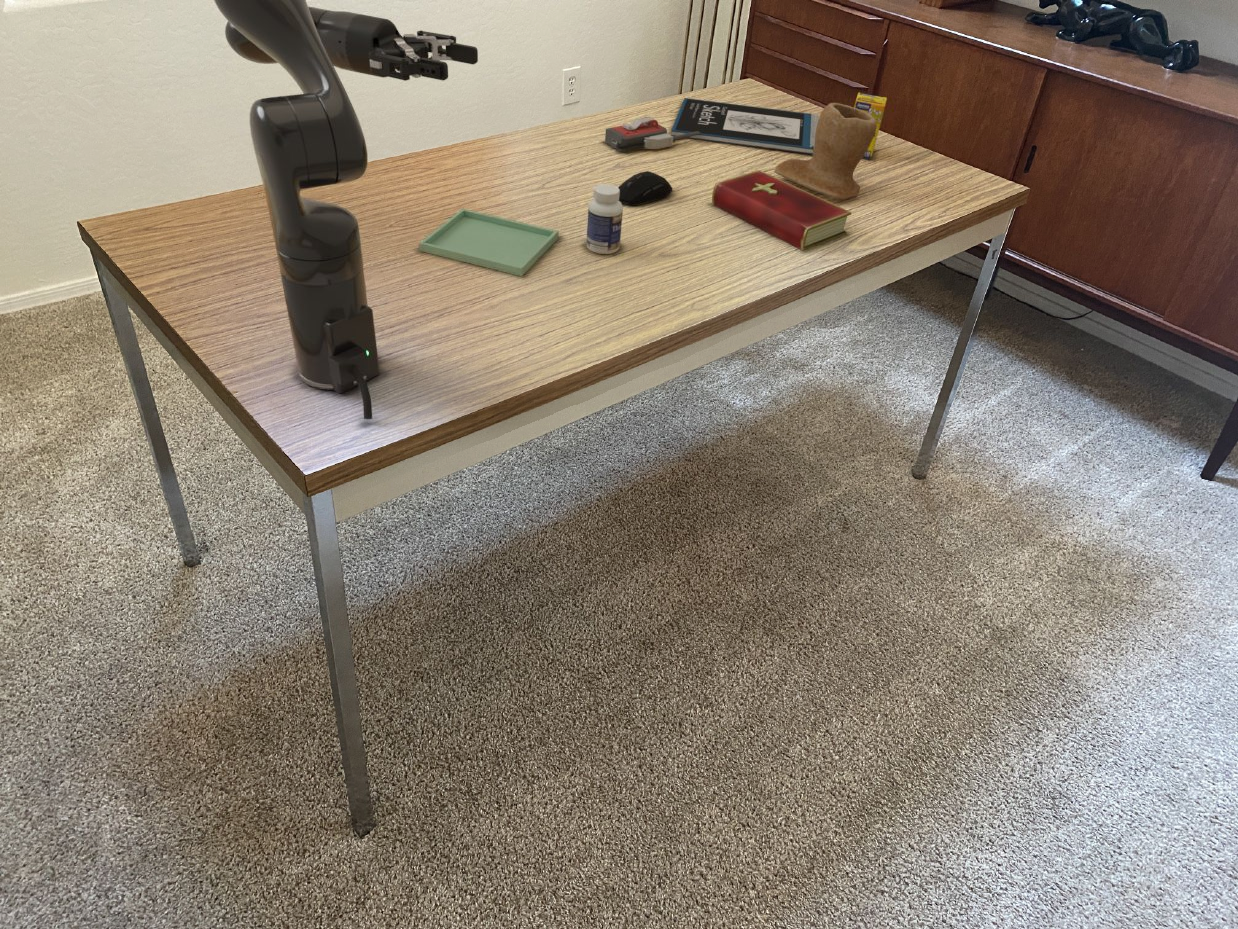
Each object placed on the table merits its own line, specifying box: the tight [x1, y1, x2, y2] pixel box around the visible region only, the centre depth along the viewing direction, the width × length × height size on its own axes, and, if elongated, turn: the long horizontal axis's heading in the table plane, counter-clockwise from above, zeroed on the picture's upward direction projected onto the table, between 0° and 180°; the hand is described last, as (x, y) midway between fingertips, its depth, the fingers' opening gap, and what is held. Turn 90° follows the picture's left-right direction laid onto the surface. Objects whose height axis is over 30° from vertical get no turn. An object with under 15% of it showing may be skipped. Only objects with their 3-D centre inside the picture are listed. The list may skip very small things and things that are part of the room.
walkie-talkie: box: [604, 116, 700, 153], centre depth 179 cm, size 9×4×20 cm
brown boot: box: [773, 102, 877, 200], centre depth 165 cm, size 15×12×15 cm
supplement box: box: [853, 92, 888, 161], centre depth 181 cm, size 6×6×11 cm
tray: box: [418, 208, 559, 277], centre depth 141 cm, size 17×14×1 cm
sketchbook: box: [670, 97, 820, 156], centre depth 191 cm, size 22×30×2 cm
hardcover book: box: [711, 169, 853, 252], centre depth 155 cm, size 12×21×4 cm, turn 42°
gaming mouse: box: [617, 170, 673, 206], centre depth 158 cm, size 6×15×4 cm, turn 132°
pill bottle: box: [586, 183, 624, 255], centre depth 140 cm, size 5×5×10 cm
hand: (462, 63), depth 122 cm, fingers open, 8 cm apart
